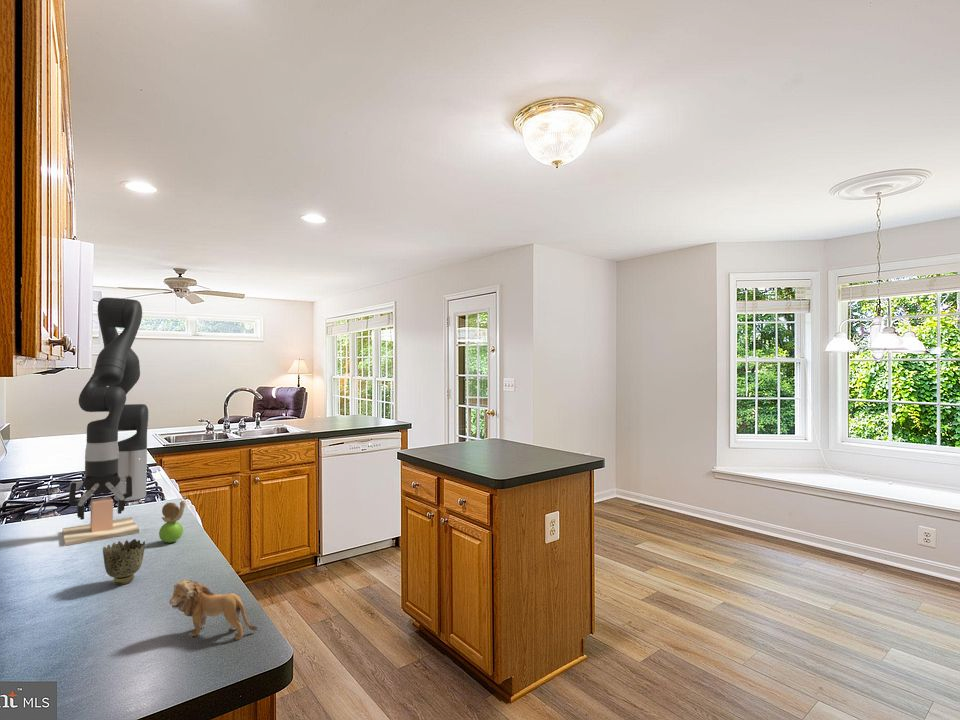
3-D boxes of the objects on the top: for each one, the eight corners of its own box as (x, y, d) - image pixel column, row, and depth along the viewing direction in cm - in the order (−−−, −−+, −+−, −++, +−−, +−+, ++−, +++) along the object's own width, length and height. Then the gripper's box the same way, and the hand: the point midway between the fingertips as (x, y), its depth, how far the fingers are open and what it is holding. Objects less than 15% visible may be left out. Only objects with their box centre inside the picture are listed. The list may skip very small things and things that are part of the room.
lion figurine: (163, 641, 84) (163, 587, 84) (181, 625, 89) (181, 574, 89) (251, 640, 84) (252, 586, 84) (264, 624, 90) (264, 573, 90)
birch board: (62, 531, 140) (62, 528, 140) (131, 520, 151) (131, 517, 151) (64, 545, 129) (64, 542, 129) (139, 532, 140) (139, 529, 140)
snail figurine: (178, 545, 129) (179, 499, 130) (154, 545, 130) (154, 499, 130) (191, 538, 135) (191, 494, 135) (167, 538, 135) (168, 493, 135)
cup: (151, 579, 108) (152, 542, 109) (112, 592, 102) (113, 553, 102) (133, 572, 112) (134, 536, 112) (95, 584, 106) (96, 546, 106)
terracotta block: (90, 528, 140) (90, 499, 140) (110, 525, 143) (111, 497, 144) (91, 532, 137) (92, 503, 137) (112, 528, 140) (113, 500, 140)
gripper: (130, 453, 148) (130, 508, 148) (68, 458, 138) (67, 518, 138) (134, 456, 142) (133, 514, 142) (69, 462, 133) (68, 524, 133)
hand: (101, 516), depth 140 cm, fingers open, 8 cm apart
